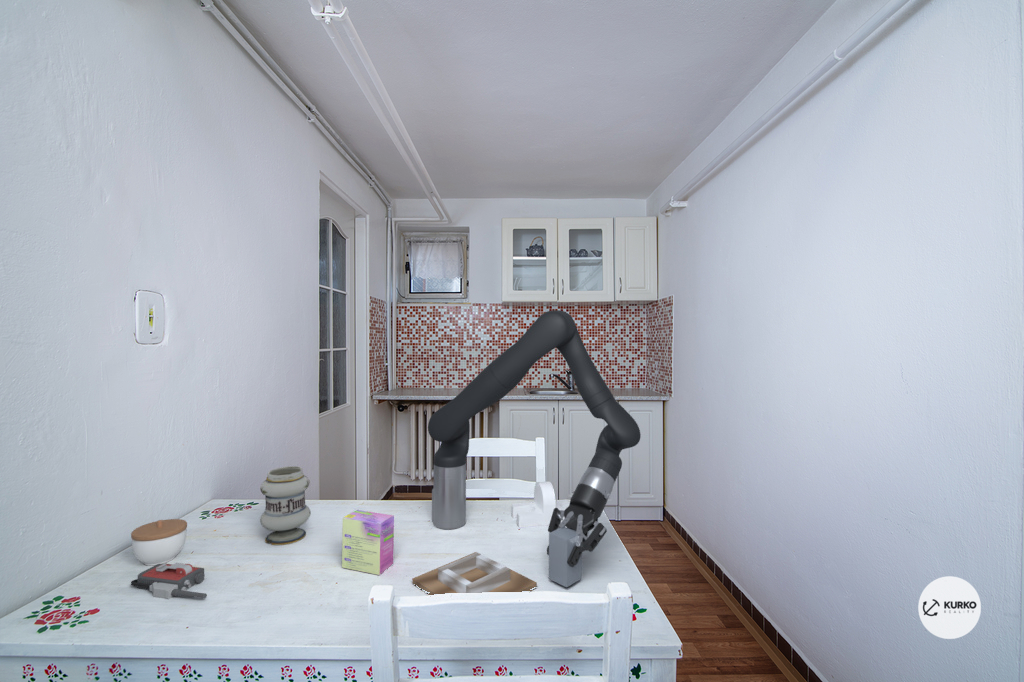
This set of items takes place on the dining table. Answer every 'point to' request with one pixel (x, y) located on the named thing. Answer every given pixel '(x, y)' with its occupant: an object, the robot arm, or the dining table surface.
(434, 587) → the pocket plate
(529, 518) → the white base with disc
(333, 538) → the dining table surface
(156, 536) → the lidded jar
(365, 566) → the box
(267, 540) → the apothecary jar
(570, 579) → the gray rectangular block
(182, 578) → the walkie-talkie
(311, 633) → the dining table surface
